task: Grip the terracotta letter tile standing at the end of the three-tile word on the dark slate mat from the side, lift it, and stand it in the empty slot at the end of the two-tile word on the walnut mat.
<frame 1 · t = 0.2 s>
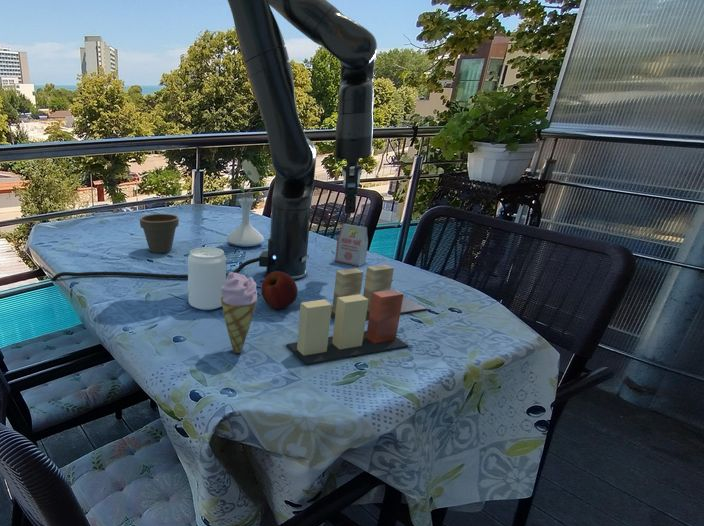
hand: (350, 209, 107), 17 cm above the table, tool pointing down, fingers open, 8 cm apart
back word: (374, 309, 97), on the table
front word: (346, 346, 83), on the table
ice cream cone: (237, 351, 83), on the table
apple: (277, 307, 100), on the table
white tea box: (349, 262, 125), on the table
flower pot: (160, 250, 140), on the table
flower in vase: (244, 244, 144), on the table
beverage can: (207, 305, 102), on the table
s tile: (380, 338, 84), resting on front word
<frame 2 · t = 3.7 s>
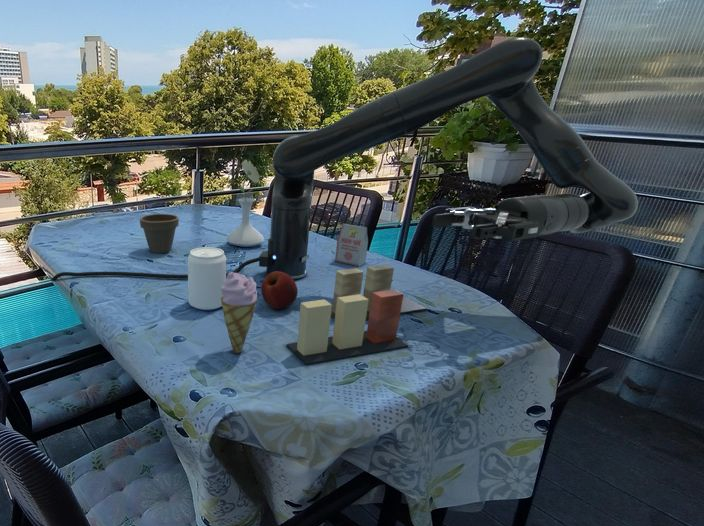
hand: (453, 226, 79), 20 cm above the table, tool horizontal, fingers open, 8 cm apart
nothing on the table moved.
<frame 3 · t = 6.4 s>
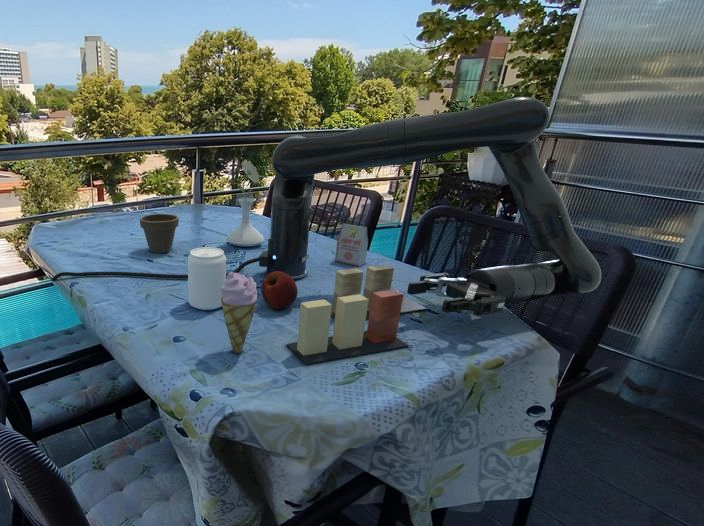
hand: (425, 297, 84), 7 cm above the table, tool horizontal, fingers open, 8 cm apart
nothing on the table moved.
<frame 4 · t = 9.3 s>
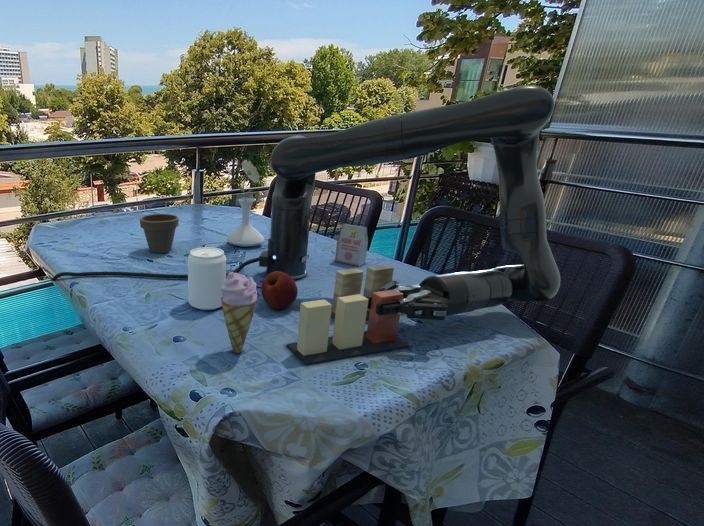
hand: (372, 305, 81), 7 cm above the table, tool horizontal, fingers closed on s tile, 2 cm apart
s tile: (380, 338, 84), resting on front word, touching gripper
everything else where it was.
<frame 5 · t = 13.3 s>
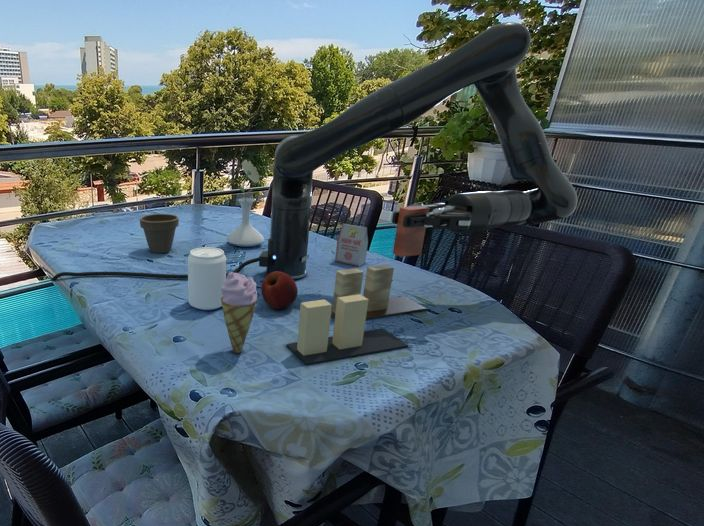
hand: (399, 219, 86), 20 cm above the table, tool horizontal, fingers closed on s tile, 2 cm apart
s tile: (406, 254, 89), point 13 cm above the table, touching gripper
everything else where it was.
when the fingers open (7 cm above the table, at t = 17.6 s): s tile stays where it is, resting on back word.
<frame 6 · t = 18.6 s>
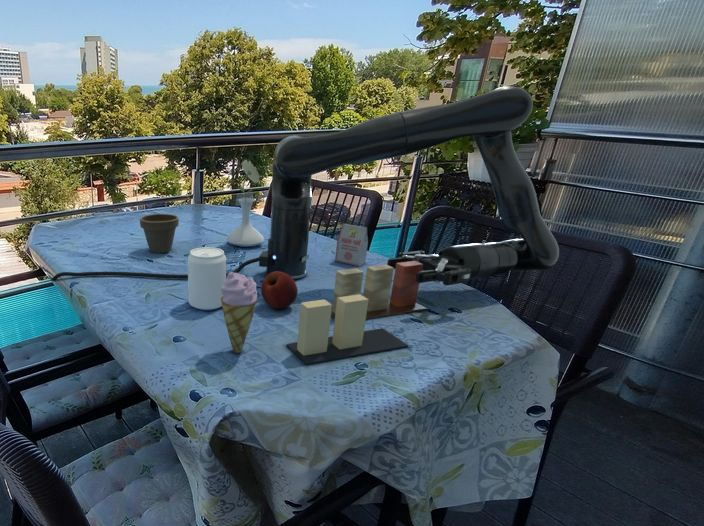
hand: (402, 270, 95), 8 cm above the table, tool horizontal, fingers open, 8 cm apart
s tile: (402, 303, 98), resting on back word
everything else where it was.
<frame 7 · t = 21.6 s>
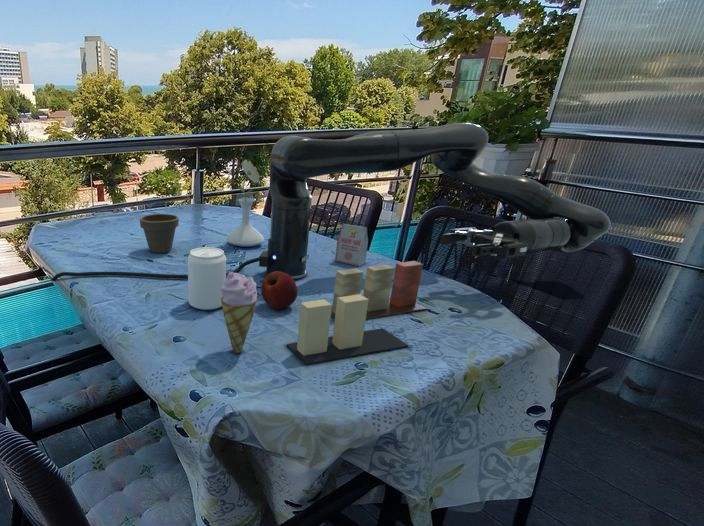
hand: (457, 245, 96), 12 cm above the table, tool horizontal, fingers open, 8 cm apart
nothing on the table moved.
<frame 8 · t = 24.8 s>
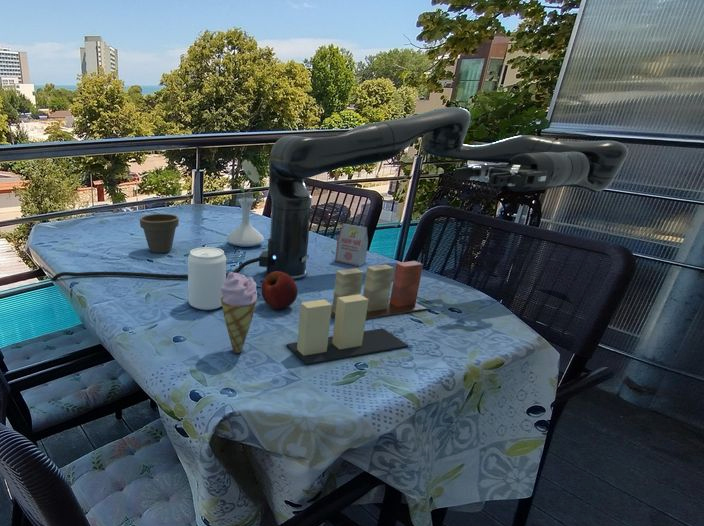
hand: (472, 177, 91), 26 cm above the table, tool horizontal, fingers open, 8 cm apart
nothing on the table moved.
at the end: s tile 0.2 cm from the target spot on the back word, point 0.4 cm above the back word's base; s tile tilted 0°; the gripper is holding nothing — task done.
